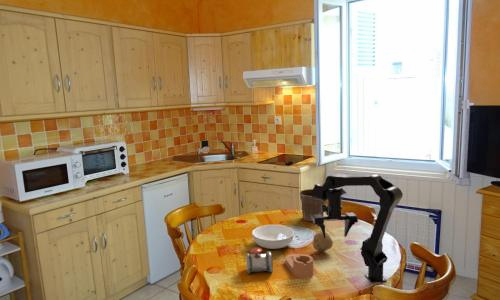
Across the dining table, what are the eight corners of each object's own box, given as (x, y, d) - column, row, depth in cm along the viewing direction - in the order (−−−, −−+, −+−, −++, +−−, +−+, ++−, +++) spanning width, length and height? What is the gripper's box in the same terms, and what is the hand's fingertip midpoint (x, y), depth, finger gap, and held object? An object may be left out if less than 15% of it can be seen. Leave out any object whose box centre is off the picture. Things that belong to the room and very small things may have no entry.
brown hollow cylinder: (316, 277, 151) (316, 261, 150) (297, 280, 149) (297, 264, 148) (299, 258, 168) (299, 244, 167) (282, 261, 166) (282, 246, 165)
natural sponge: (335, 250, 175) (335, 230, 173) (328, 257, 168) (328, 237, 166) (317, 246, 180) (317, 227, 178) (310, 253, 173) (309, 233, 171)
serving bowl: (289, 256, 171) (288, 242, 170) (246, 251, 178) (246, 237, 176) (298, 238, 190) (297, 226, 189) (259, 234, 197) (259, 222, 196)
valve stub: (270, 266, 162) (269, 244, 161) (273, 275, 154) (272, 253, 152) (246, 268, 161) (245, 246, 160) (248, 277, 153) (247, 255, 151)
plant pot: (311, 212, 230) (311, 187, 227) (332, 218, 218) (332, 192, 215) (293, 218, 220) (293, 192, 217) (314, 225, 207) (314, 198, 205)
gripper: (350, 196, 166) (350, 229, 168) (309, 198, 165) (309, 231, 168) (358, 203, 155) (358, 238, 157) (314, 206, 154) (315, 241, 157)
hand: (334, 237), depth 160 cm, fingers open, 9 cm apart
